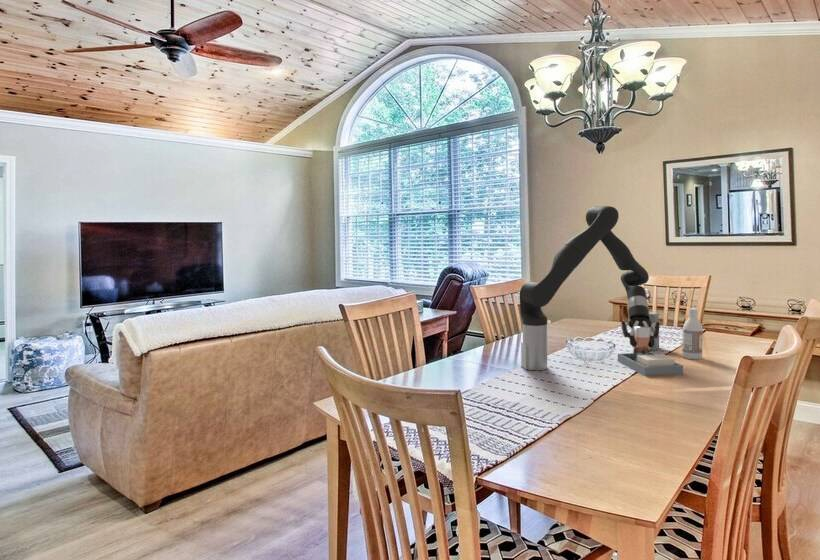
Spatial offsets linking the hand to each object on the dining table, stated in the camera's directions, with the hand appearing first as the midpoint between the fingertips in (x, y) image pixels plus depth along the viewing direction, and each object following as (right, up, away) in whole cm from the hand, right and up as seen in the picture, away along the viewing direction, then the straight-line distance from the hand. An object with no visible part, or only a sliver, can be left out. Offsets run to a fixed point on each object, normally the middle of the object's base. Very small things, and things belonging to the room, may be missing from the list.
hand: (642, 345), depth 191 cm
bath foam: (+26, -7, +13) cm, 30 cm away
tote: (+1, -9, -3) cm, 9 cm away
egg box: (+1, -8, -7) cm, 11 cm away
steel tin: (+1, -6, +2) cm, 6 cm away
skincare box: (+17, -5, +30) cm, 35 cm away
